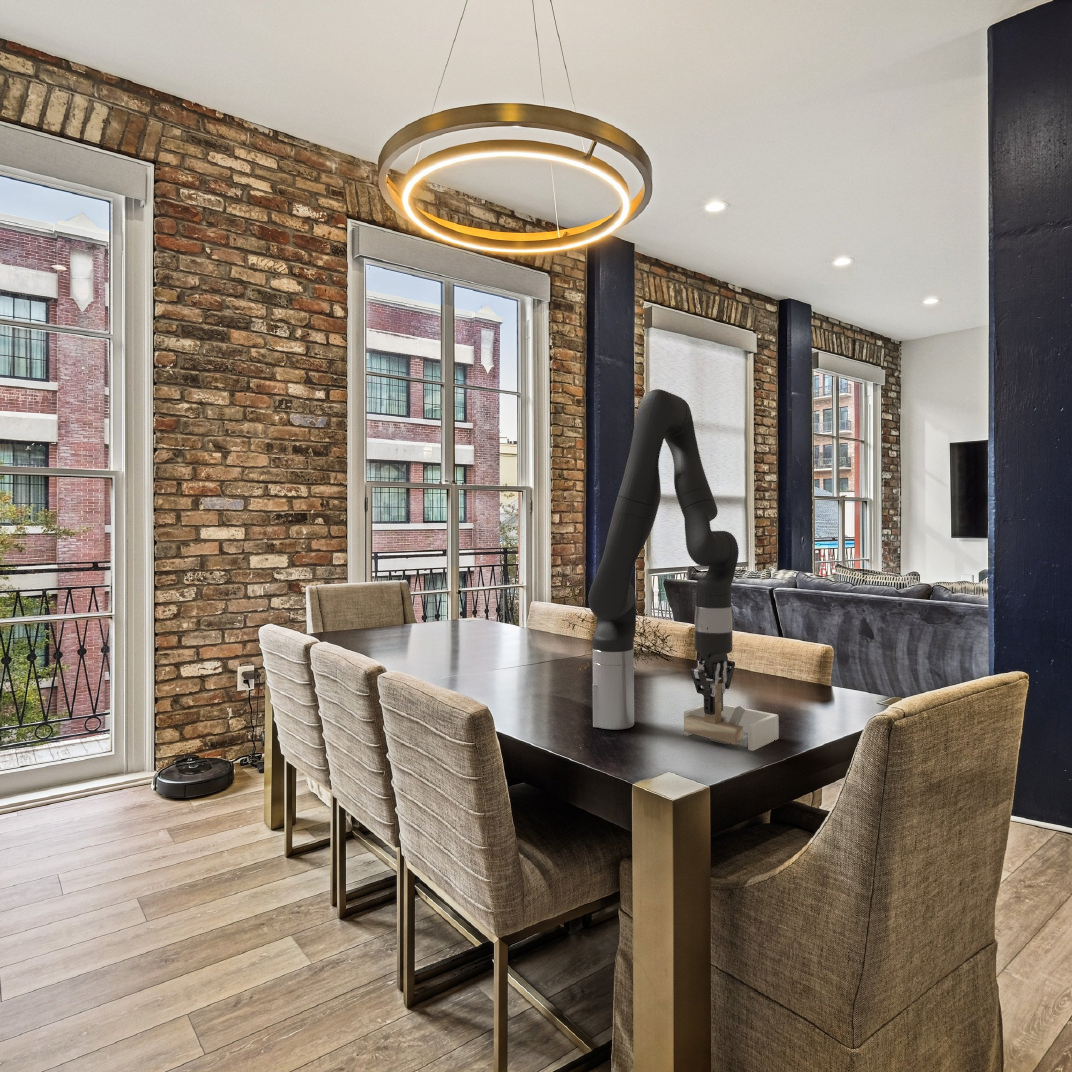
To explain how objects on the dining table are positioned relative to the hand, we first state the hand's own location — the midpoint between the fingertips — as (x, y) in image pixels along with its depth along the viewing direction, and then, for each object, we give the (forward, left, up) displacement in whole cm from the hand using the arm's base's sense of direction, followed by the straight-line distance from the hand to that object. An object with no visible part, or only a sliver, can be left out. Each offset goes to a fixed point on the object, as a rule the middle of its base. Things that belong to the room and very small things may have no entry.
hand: (713, 712), depth 150 cm
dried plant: (-19, +60, -7) cm, 64 cm away
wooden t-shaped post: (0, 0, -5) cm, 5 cm away
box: (+4, +5, -7) cm, 9 cm away
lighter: (+3, +1, -7) cm, 7 cm away
